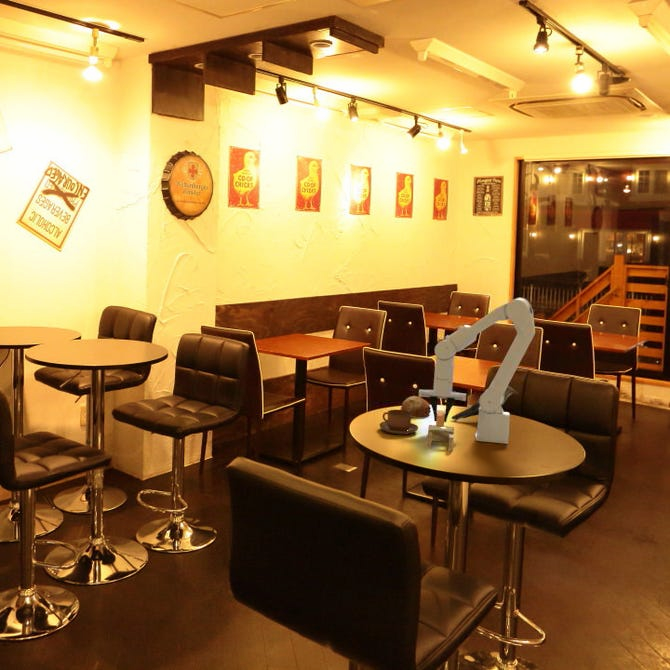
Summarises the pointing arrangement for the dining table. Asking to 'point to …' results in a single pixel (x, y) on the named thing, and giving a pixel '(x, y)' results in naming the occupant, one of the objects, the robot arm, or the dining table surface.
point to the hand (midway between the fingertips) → (440, 421)
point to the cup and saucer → (398, 422)
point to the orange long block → (440, 418)
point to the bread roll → (416, 406)
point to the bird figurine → (475, 408)
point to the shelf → (440, 435)
